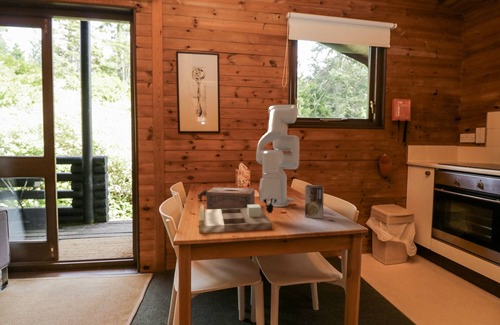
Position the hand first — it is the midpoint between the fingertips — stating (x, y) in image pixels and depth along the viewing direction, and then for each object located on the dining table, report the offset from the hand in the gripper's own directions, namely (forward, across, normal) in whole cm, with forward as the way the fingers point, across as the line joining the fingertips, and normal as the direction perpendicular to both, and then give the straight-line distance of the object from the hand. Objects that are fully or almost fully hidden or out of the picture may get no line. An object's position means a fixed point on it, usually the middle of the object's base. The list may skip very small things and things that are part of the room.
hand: (269, 212), depth 139 cm
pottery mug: (+4, +30, -48) cm, 57 cm away
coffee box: (+4, -25, -3) cm, 25 cm away
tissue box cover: (+4, +16, -30) cm, 35 cm away
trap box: (+4, +18, 0) cm, 19 cm away
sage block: (+1, +8, 0) cm, 8 cm away
